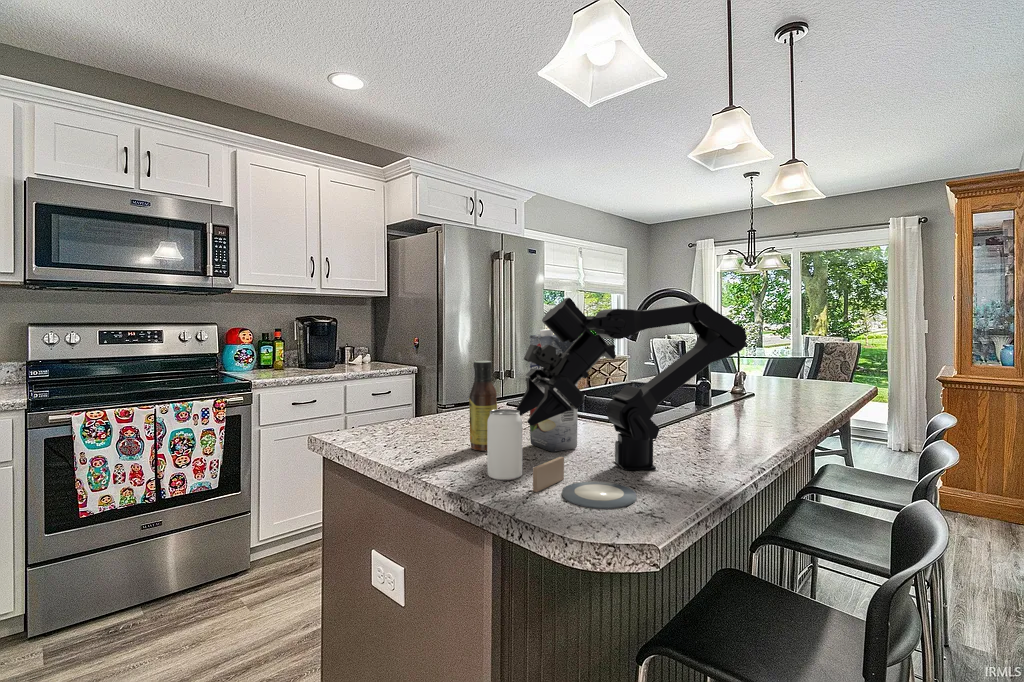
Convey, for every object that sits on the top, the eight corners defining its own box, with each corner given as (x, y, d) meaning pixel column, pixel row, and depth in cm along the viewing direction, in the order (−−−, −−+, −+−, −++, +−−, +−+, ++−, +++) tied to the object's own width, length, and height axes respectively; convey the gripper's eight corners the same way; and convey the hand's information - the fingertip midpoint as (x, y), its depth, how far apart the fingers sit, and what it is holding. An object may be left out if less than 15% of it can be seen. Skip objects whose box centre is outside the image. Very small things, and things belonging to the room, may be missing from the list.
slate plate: (625, 483, 92) (625, 480, 92) (646, 507, 80) (646, 503, 80) (557, 484, 91) (557, 481, 91) (568, 509, 79) (568, 505, 79)
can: (484, 480, 94) (483, 414, 94) (491, 470, 101) (491, 408, 100) (519, 481, 93) (519, 415, 93) (524, 471, 100) (524, 409, 99)
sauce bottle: (477, 444, 122) (477, 359, 121) (502, 446, 120) (501, 360, 119) (464, 450, 116) (464, 361, 115) (489, 453, 114) (489, 362, 113)
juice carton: (556, 440, 126) (556, 328, 125) (583, 449, 117) (583, 329, 116) (524, 444, 122) (524, 328, 121) (550, 454, 113) (550, 329, 112)
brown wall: (560, 478, 95) (560, 456, 95) (563, 479, 95) (563, 457, 95) (533, 491, 88) (532, 467, 88) (536, 492, 88) (536, 468, 87)
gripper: (535, 329, 107) (482, 383, 105) (567, 330, 89) (504, 396, 87) (571, 366, 109) (520, 421, 107) (609, 375, 91) (548, 441, 89)
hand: (522, 419), depth 97 cm, fingers open, 9 cm apart
